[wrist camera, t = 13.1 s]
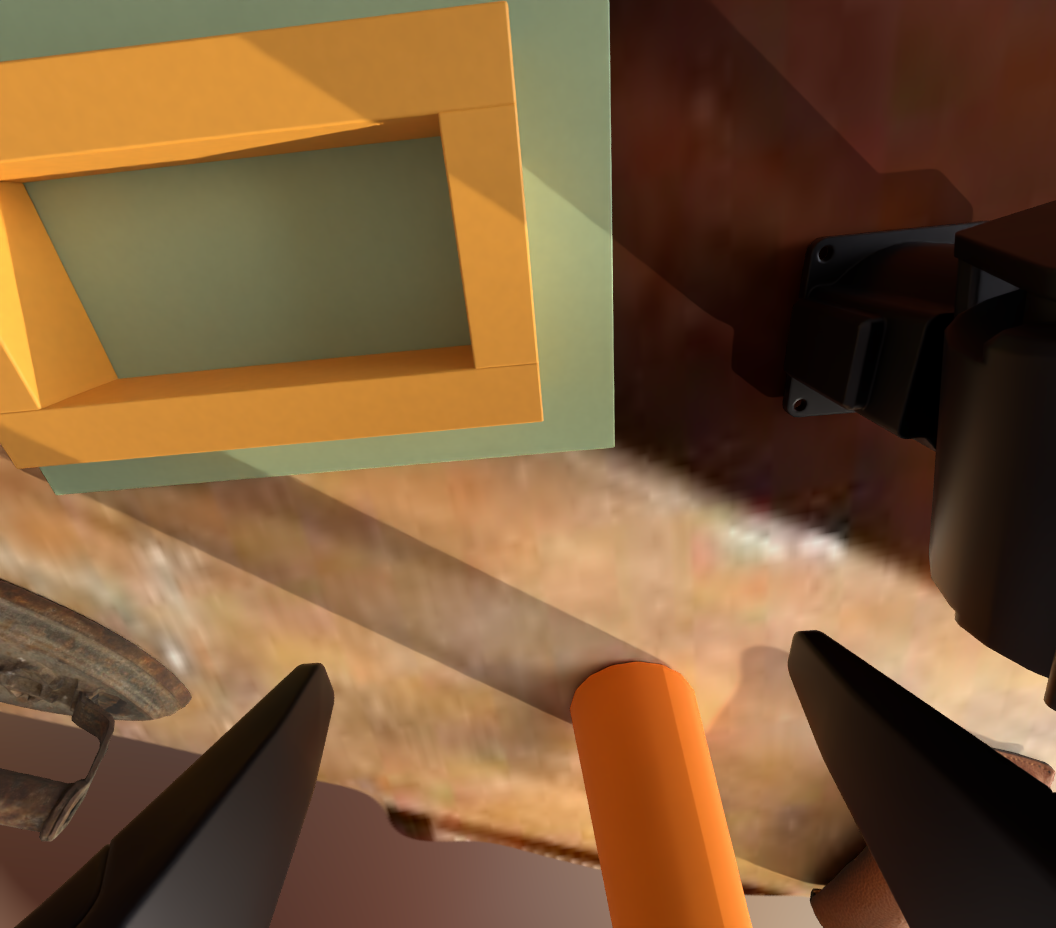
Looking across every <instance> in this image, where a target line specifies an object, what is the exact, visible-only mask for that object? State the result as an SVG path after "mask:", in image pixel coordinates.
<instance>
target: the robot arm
mask: <svg viewBox="0 0 1056 928" xmlns="http://www.w3.org/2000/svg"><path fill="white" fill-rule="evenodd" d="M824 246H826V247H827V251H828V252H827V254H826V256H825V257H824V258H823V259H822V260H820V259H819V252H820V250H821V249H822V248H823V247H824ZM784 371H785V372H786V373H787V378H786V384H785V391H784V398H783V408H784V410H785V411H786V412H787V413H789V414H790V415H792V416H793V417H806V416H817V415H829V414H840V413H852V412H857V413H859V414H860V415H862V416H864V417H866V418H867V419H869V420H871V421H872V422H874V423H876V424H878V425H879V426H881V427H883V428H885V429H886V430H888V431H890V432H891V433H893V434H895V435H897V436H898V437H900V438H903V439H914V440H916V441H918V442H920V443H921V444H923V445H925V446H927V447H928V448H930V449H932V450H934V451H935V452H936V460H935V475H934V489H933V504H932V518H931V533H930V547H929V559H930V568H931V578H932V580H933V581H934V583H935V584H936V586H937V587H938V589H939V590H940V592H941V593H942V595H943V596H944V598H945V599H946V601H947V602H948V604H949V605H950V606H951V607H952V608H953V609H954V610H955V620H956V622H957V623H958V624H959V625H960V626H961V627H962V628H963V629H965V630H966V631H967V632H969V633H970V634H971V635H972V636H974V637H975V638H976V639H978V640H979V641H980V642H981V643H983V644H984V645H985V646H987V647H989V648H990V649H992V650H994V651H996V652H998V653H999V654H1001V655H1003V656H1005V657H1007V658H1008V659H1010V660H1012V661H1014V662H1016V663H1017V664H1019V665H1021V666H1023V667H1025V668H1026V669H1028V670H1030V671H1033V672H1035V673H1037V674H1039V675H1042V676H1044V677H1047V678H1049V679H1048V683H1047V688H1046V692H1045V696H1044V701H1045V703H1046V704H1047V705H1048V706H1049V707H1050V708H1051V709H1053V710H1055V711H1056V200H1055V201H1052V202H1049V203H1046V204H1043V205H1040V206H1036V207H1033V208H1030V209H1027V210H1024V211H1020V212H1017V213H1014V214H1011V215H1008V216H1005V217H1001V218H998V219H995V220H992V221H979V222H968V223H958V224H948V225H938V226H928V227H918V228H908V229H898V230H888V231H878V232H868V233H858V234H847V235H837V236H827V237H821V238H818V239H816V240H814V241H813V242H812V243H811V244H810V245H809V247H808V248H807V251H806V254H805V260H804V267H803V273H802V280H801V286H800V293H799V299H798V301H797V302H796V303H795V304H794V305H793V310H792V317H791V323H790V330H789V337H788V344H787V350H786V357H785V364H784ZM800 399H802V402H801V404H800V405H799V406H798V407H796V408H794V404H795V402H796V401H798V400H800ZM788 671H789V674H790V677H791V680H792V682H793V685H794V687H795V690H796V692H797V695H798V697H799V700H800V702H801V705H802V707H803V710H804V712H805V715H806V718H807V720H808V723H809V725H810V728H811V730H812V733H813V735H814V738H815V740H816V743H817V745H818V748H819V750H820V752H821V755H822V757H823V759H824V761H825V763H826V765H827V768H828V770H829V772H830V774H831V776H832V778H833V779H834V781H835V783H836V785H837V787H838V789H839V791H840V793H841V795H842V797H843V799H844V801H845V803H846V805H847V807H848V809H849V811H850V813H851V815H852V817H853V818H854V820H855V822H856V824H857V826H858V828H859V830H860V832H861V834H862V836H863V838H864V840H865V842H866V844H867V846H868V848H869V850H870V852H871V854H872V856H873V857H874V859H875V861H876V863H877V865H878V867H879V869H880V871H881V873H882V875H883V877H884V879H885V881H886V883H887V885H888V887H889V889H890V891H891V893H892V895H893V896H894V898H895V900H896V902H897V904H898V906H899V908H900V910H901V912H902V914H903V916H904V918H905V920H906V922H907V924H908V926H909V928H1056V792H1052V790H1051V789H1050V787H1048V786H1047V785H1045V784H1044V783H1042V782H1041V781H1039V780H1038V779H1037V778H1035V777H1034V776H1032V775H1031V774H1029V773H1028V772H1026V771H1025V770H1023V769H1022V768H1020V767H1019V766H1017V765H1016V764H1015V763H1013V762H1012V761H1010V760H1009V759H1007V758H1006V757H1004V756H1003V755H1001V754H1000V753H998V752H997V751H996V750H994V749H993V748H991V747H990V746H988V745H987V744H985V743H984V742H982V741H981V740H979V739H978V738H976V737H975V736H974V735H972V734H971V733H969V732H968V731H966V730H965V729H963V728H962V727H960V726H959V725H957V724H956V723H955V722H953V721H952V720H950V719H949V718H947V717H946V716H944V715H943V714H941V713H940V712H938V711H937V710H935V709H934V708H933V707H931V706H930V705H928V704H927V703H925V702H924V701H922V700H921V699H919V698H918V697H916V696H915V695H914V694H912V693H911V692H909V691H908V690H906V689H905V688H903V687H902V686H900V685H899V684H897V683H896V682H894V681H893V680H892V679H890V678H889V677H887V676H886V675H884V674H883V673H881V672H880V671H878V670H877V669H875V668H874V667H873V666H871V665H870V664H868V663H867V662H865V661H864V660H862V659H861V658H859V657H858V656H856V655H855V654H854V653H852V652H851V651H849V650H848V649H846V648H845V647H843V646H842V645H840V644H839V643H837V642H836V641H834V640H833V639H832V638H830V637H829V636H827V635H826V634H824V633H823V632H820V631H817V630H810V631H798V632H796V633H795V634H794V636H793V640H792V645H791V649H790V654H789V658H788ZM333 705H334V691H333V688H332V685H331V683H330V680H329V677H328V675H327V672H326V670H325V667H324V666H323V665H322V664H321V663H309V664H301V665H299V666H298V667H296V668H295V669H294V670H293V671H292V672H291V673H290V674H289V675H288V676H286V677H285V678H284V679H283V680H282V681H281V682H280V683H279V684H278V685H277V686H276V687H275V688H274V689H273V690H271V691H270V692H269V693H268V694H267V695H266V696H265V697H264V698H263V699H262V700H261V701H260V702H259V703H258V704H256V705H255V706H254V707H253V708H252V709H251V710H250V711H249V712H248V713H247V714H246V715H245V716H244V717H243V718H241V719H240V720H239V721H238V722H237V723H236V724H235V725H234V726H233V727H232V728H231V729H230V730H229V731H228V732H226V733H225V734H224V735H223V736H222V737H221V738H220V739H219V740H218V741H217V742H216V743H215V744H214V745H213V746H211V747H210V748H209V749H208V750H207V751H206V752H205V753H204V754H203V755H202V756H201V757H200V758H199V759H198V760H196V761H195V762H194V763H193V764H192V765H191V766H190V767H189V768H188V769H187V770H186V771H185V772H184V773H183V774H182V775H180V776H179V777H178V778H177V779H176V780H175V781H174V782H173V783H172V784H171V785H170V786H169V787H168V788H167V789H165V790H164V791H163V792H162V793H161V794H160V795H159V796H158V797H157V798H156V799H155V800H154V801H153V802H151V803H150V804H149V805H148V806H147V807H146V808H145V809H144V810H143V811H142V812H141V813H140V814H139V815H138V816H137V817H136V818H134V819H133V820H132V821H131V822H130V823H129V824H128V825H127V826H126V827H125V828H124V829H123V830H122V831H120V832H119V833H118V834H117V835H116V836H115V837H114V838H113V839H112V840H111V843H110V844H108V845H106V846H104V847H103V848H102V849H101V850H100V851H99V852H98V853H97V854H96V855H94V856H93V857H92V858H91V859H90V860H89V861H88V862H87V863H86V864H85V865H84V866H83V867H82V868H81V869H80V870H79V871H77V872H76V873H75V874H74V875H73V876H72V877H71V878H69V879H68V880H67V881H66V882H65V883H64V884H63V885H62V886H61V887H60V888H58V889H57V890H56V891H55V892H54V893H53V894H52V895H51V896H50V897H49V898H47V899H46V900H45V901H44V902H43V903H42V904H41V905H40V906H39V907H38V908H37V909H35V910H34V911H33V912H32V913H31V914H29V915H28V916H27V917H26V918H25V919H24V920H22V921H21V922H20V923H19V924H18V925H17V926H16V927H14V928H269V926H270V923H271V920H272V917H273V913H274V911H275V907H276V904H277V901H278V898H279V895H280V892H281V889H282V886H283V883H284V880H285V877H286V874H287V871H288V868H289V865H290V862H291V859H292V856H293V853H294V850H295V847H296V844H297V840H298V838H299V835H300V831H301V828H302V825H303V822H304V819H305V816H306V813H307V810H308V807H309V804H310V801H311V798H312V794H313V791H314V788H315V784H316V780H317V776H318V772H319V767H320V763H321V758H322V754H323V750H324V745H325V741H326V736H327V732H328V727H329V723H330V718H331V714H332V710H333Z"/></svg>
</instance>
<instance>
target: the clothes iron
mask: <svg viewBox="0 0 1056 928" xmlns="http://www.w3.org/2000/svg"><path fill="white" fill-rule="evenodd" d="M191 698H192V697H191V695H190V693H189V691H188V690H187V688H186V687H185V686H184V685H183V684H182V683H181V682H180V680H179V679H178V678H177V677H176V676H175V675H174V674H173V673H171V672H170V671H169V670H168V669H166V668H165V667H164V666H163V665H162V664H160V663H159V662H158V661H157V660H155V659H154V658H153V657H151V656H150V655H148V654H147V653H146V652H144V651H143V650H141V649H140V648H138V647H137V646H135V645H134V644H132V643H131V642H129V641H127V640H126V639H124V638H123V637H121V636H119V635H118V634H116V633H114V632H112V631H110V630H108V629H106V628H105V627H103V626H101V625H99V624H97V623H95V622H94V621H92V620H90V619H87V618H85V617H83V616H81V615H79V614H77V613H75V612H73V611H71V610H70V609H67V608H65V607H62V606H60V605H58V604H56V603H54V602H51V601H49V600H47V599H45V598H43V597H40V596H38V595H35V594H33V593H31V592H29V591H27V590H24V589H22V588H20V587H17V586H14V585H12V584H9V583H7V582H4V581H1V580H0V702H3V703H7V704H12V705H16V706H20V707H25V708H30V709H35V710H40V711H46V712H51V713H57V714H64V715H71V716H72V721H73V722H74V723H75V724H76V725H77V726H79V727H81V728H82V729H84V730H86V731H87V732H89V733H91V734H92V735H94V736H96V737H97V738H98V739H99V740H100V748H99V751H98V753H97V755H96V757H95V759H94V762H93V764H92V766H91V769H90V771H89V773H88V775H87V777H86V778H85V779H81V780H79V781H76V782H75V783H69V784H67V783H63V782H59V781H53V780H51V779H47V778H42V777H37V776H33V775H29V774H23V773H18V772H14V771H9V770H5V769H1V768H0V825H5V826H10V827H15V828H20V829H26V830H32V831H38V832H40V836H39V837H40V839H41V841H52V840H54V839H55V838H56V837H57V836H58V835H59V834H60V833H61V832H62V831H63V830H64V829H65V827H66V826H67V825H68V823H69V822H70V821H71V819H72V817H73V815H74V814H75V812H76V810H77V809H78V807H79V806H80V804H81V803H82V801H83V800H84V798H85V796H86V793H87V791H88V788H89V786H90V784H91V782H92V779H93V777H94V775H95V773H96V771H97V769H98V767H99V764H100V762H101V760H102V758H103V757H104V755H105V753H106V751H107V749H108V744H109V741H110V739H111V736H112V734H113V731H114V723H115V721H114V720H130V721H145V720H154V719H158V718H162V717H164V716H170V715H172V714H174V713H176V712H177V711H178V710H180V709H182V708H183V707H185V706H186V705H187V704H188V703H189V702H190V700H191Z"/></svg>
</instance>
